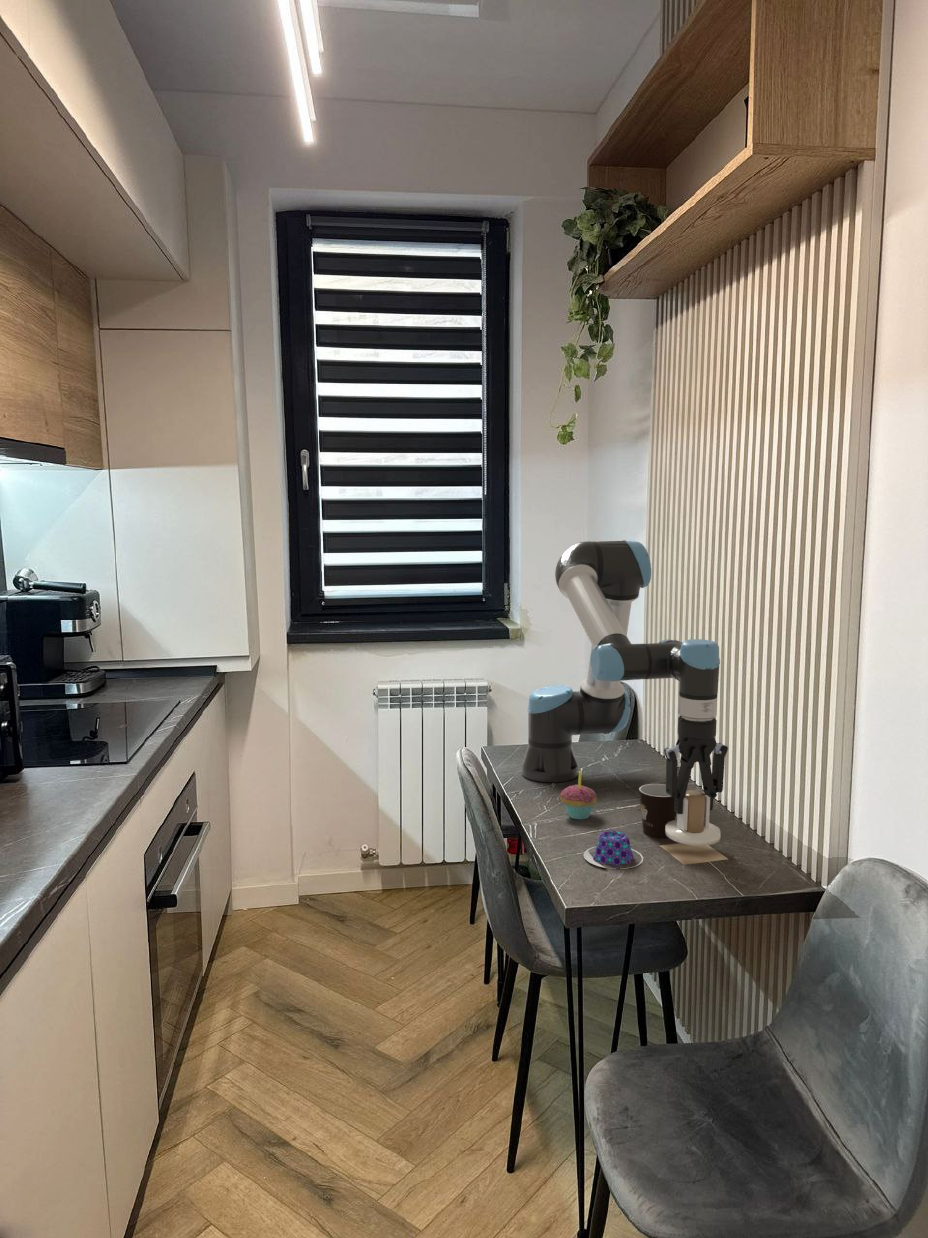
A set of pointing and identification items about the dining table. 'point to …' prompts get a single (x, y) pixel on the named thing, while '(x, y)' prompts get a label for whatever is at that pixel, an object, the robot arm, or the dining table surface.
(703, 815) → the lid
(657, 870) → the dining table surface
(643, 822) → the coffee mug
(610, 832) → the pudding
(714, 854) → the cork mat
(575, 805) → the cupcake
